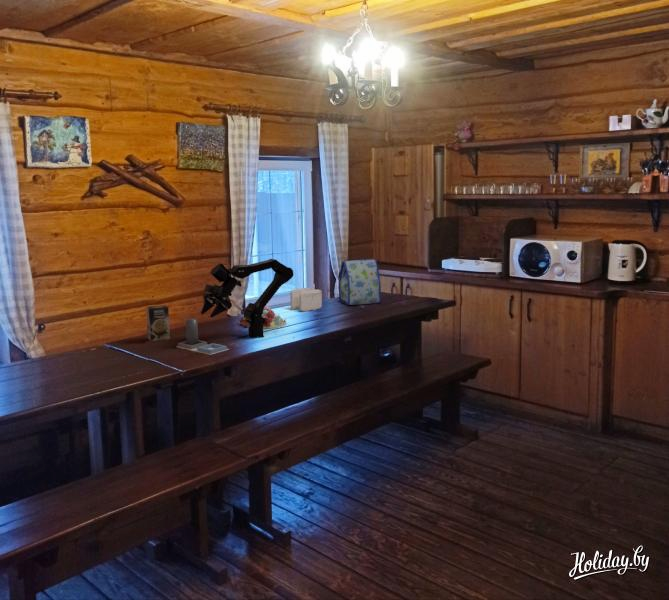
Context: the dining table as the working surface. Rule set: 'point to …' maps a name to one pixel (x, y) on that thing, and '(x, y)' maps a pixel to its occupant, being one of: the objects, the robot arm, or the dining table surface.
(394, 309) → the dining table surface
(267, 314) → the candy landscape model
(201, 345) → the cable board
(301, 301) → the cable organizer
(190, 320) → the grey cylinder
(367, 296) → the lunch bag
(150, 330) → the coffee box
